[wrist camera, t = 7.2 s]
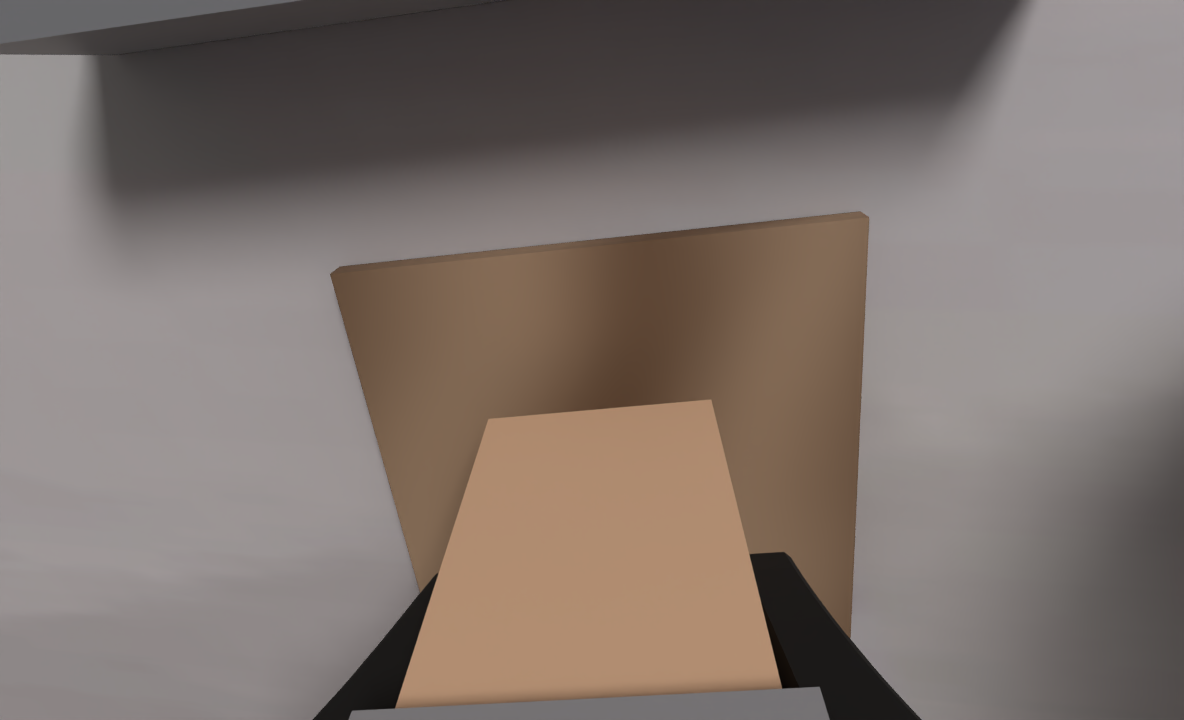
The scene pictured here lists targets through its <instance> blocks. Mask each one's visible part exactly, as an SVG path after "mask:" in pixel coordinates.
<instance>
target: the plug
mask: <svg viewBox="0 0 1184 720" xmlns="http://www.w3.org/2000/svg"><path fill="white" fill-rule="evenodd" d="M349 720H830V719H829V716H828V713H827V709H826V706H825V703H824V699H823V696H822V693H821V689H820V687H806V688H787V689H782V686H781V682H780V678H779V674H778V669H777V665H776V661H775V657H774V653H773V649H772V645H771V641H770V637H769V633H768V629H767V625H766V621H765V616H764V612H763V608H762V604H761V600H760V596H759V592H758V588H757V584H756V580H755V576H754V572H753V568H752V563H751V559H750V555H749V551H748V547H747V543H746V539H745V535H744V531H743V527H742V523H741V519H740V515H739V510H738V506H737V502H736V498H735V494H734V490H733V486H732V482H731V478H730V474H729V470H728V466H727V462H726V457H725V453H724V449H723V445H722V441H721V437H720V433H719V429H718V425H717V421H716V417H715V413H714V409H713V404H712V400H699V401H688V402H677V403H665V404H654V405H642V406H631V407H619V408H608V409H596V410H585V411H573V412H562V413H550V414H539V415H528V416H516V417H505V418H493V419H488V422H487V425H486V428H485V431H484V434H483V437H482V440H481V444H480V447H479V450H478V453H477V456H476V459H475V462H474V465H473V468H472V471H471V475H470V478H469V481H468V484H467V487H466V490H465V493H464V496H463V499H462V502H461V506H460V509H459V512H458V515H457V518H456V521H455V524H454V527H453V530H452V533H451V537H450V540H449V543H448V546H447V549H446V552H445V555H444V558H443V561H442V564H441V568H440V571H439V574H438V577H437V580H436V583H435V586H434V589H433V592H432V595H431V599H430V602H429V605H428V608H427V611H426V614H425V617H424V620H423V623H422V626H421V630H420V633H419V636H418V639H417V642H416V645H415V648H414V651H413V654H412V657H411V661H410V664H409V667H408V670H407V673H406V676H405V679H404V682H403V685H402V688H401V692H400V695H399V698H398V701H397V704H396V707H395V709H377V710H357V711H352V712H351V715H350V717H349Z"/></svg>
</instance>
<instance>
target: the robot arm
mask: <svg viewBox="0 0 1184 720" xmlns="http://www.w3.org/2000/svg"><path fill="white" fill-rule="evenodd" d="M749 555H750V559H751V563H752V568H753V572H754V576H755V580H756V584H757V588H758V592H759V596H760V600H761V604H762V608H763V612H764V616H765V621H766V625H767V629H768V633H769V637H770V641H771V645H772V649H773V653H774V657H775V661H776V665H777V669H778V674H779V678H780V682H781V686H782V689H787V688H806V687H820V689H821V693H822V696H823V699H824V703H825V706H826V709H827V713H828V716H829V719H830V720H921V719H920V718H919V717H918V716H917V715H916V713H915V712H914V711H913V710H912V709H911V708H910V707H909V706H908V705H907V704H906V703H905V702H904V700H903V699H902V698H901V697H900V696H899V695H898V694H897V693H896V692H895V691H894V690H893V689H892V687H891V686H890V685H889V684H888V683H887V682H886V681H885V680H884V678H883V677H882V676H881V675H880V674H879V673H878V672H877V670H876V669H875V668H874V667H873V666H872V665H871V663H870V662H869V661H868V660H867V659H866V657H865V656H864V655H863V654H862V653H861V651H860V650H859V649H858V648H857V647H856V645H855V644H854V643H853V642H852V641H851V639H850V638H849V637H848V636H847V634H846V633H845V632H844V631H843V630H842V628H841V627H840V626H839V624H838V623H837V622H836V621H835V619H834V618H833V617H832V615H831V614H830V613H829V611H828V610H827V609H826V607H825V606H824V605H823V603H822V602H821V601H820V599H819V598H818V597H817V595H816V594H815V592H814V591H813V590H812V588H811V587H810V585H809V584H808V583H807V581H806V580H805V578H804V577H803V575H802V574H801V572H800V571H799V569H798V568H797V566H796V564H795V563H794V561H793V560H792V558H791V557H790V556H789V555H787V554H786V553H785V552H772V553H756V554H749ZM438 574H439V573H437V574H436V575H435V576H434V577H433V578H432V579H431V580H430V582H429V583H428V584H427V585H426V586H425V588H424V589H423V590H422V591H421V593H420V594H419V595H418V596H417V598H416V599H415V600H414V601H413V603H412V604H411V605H410V606H409V608H408V609H407V610H406V611H405V613H404V614H403V615H402V616H401V618H400V619H399V620H398V621H397V622H396V624H395V625H394V626H393V627H392V629H391V630H390V631H389V632H388V634H387V635H386V636H385V637H384V639H383V640H382V641H381V642H380V643H379V645H378V646H377V647H376V648H375V649H374V651H373V652H372V653H371V654H370V655H369V656H368V658H367V659H366V660H365V661H364V662H363V664H362V665H361V666H360V667H359V668H358V669H357V671H356V672H355V673H354V674H353V675H352V677H351V678H350V679H349V680H348V681H347V682H346V684H345V685H344V686H343V687H342V688H341V689H340V690H339V691H338V693H337V694H336V695H335V696H334V697H333V698H332V699H331V700H330V701H329V702H328V703H327V705H326V706H325V707H324V708H323V709H322V710H321V711H320V712H319V713H318V714H317V715H316V717H315V718H314V719H313V720H349V717H350V715H351V712H352V711H357V710H377V709H395V707H396V704H397V701H398V698H399V695H400V692H401V688H402V685H403V682H404V679H405V676H406V673H407V670H408V667H409V664H410V661H411V657H412V654H413V651H414V648H415V645H416V642H417V639H418V636H419V633H420V630H421V626H422V623H423V620H424V617H425V614H426V611H427V608H428V605H429V602H430V599H431V595H432V592H433V589H434V586H435V583H436V580H437V577H438Z"/></svg>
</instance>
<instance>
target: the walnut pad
mask: <svg viewBox="0 0 1184 720" xmlns="http://www.w3.org/2000/svg"><path fill="white" fill-rule="evenodd" d="M868 232H869V217H868V216H866V215H865V214H863V213H862V212H851V213H842V214H832V215H823V216H813V217H804V218H795V219H785V220H776V221H766V222H757V223H747V224H738V225H728V226H719V227H710V228H700V229H691V230H681V231H672V232H662V233H653V234H643V235H634V236H625V237H615V238H606V239H596V240H587V241H577V242H568V243H559V244H549V245H540V246H530V247H521V248H511V249H502V250H492V251H483V252H474V253H464V254H455V255H445V256H436V257H426V258H417V259H407V260H398V261H389V262H379V263H370V264H360V265H351V266H341V267H339V268H338V269H336V270H335V271H333V272H332V273H331V274H330V276H331V279H332V283H333V286H334V290H335V293H336V297H337V300H338V304H339V307H340V311H341V314H342V318H343V321H344V325H345V329H346V332H347V336H348V339H349V343H350V346H351V350H352V353H353V357H354V360H355V364H356V367H357V371H358V375H359V378H360V382H361V385H362V389H363V392H364V396H365V399H366V403H367V406H368V410H369V413H370V417H371V420H372V424H373V428H374V431H375V435H376V438H377V442H378V445H379V449H380V452H381V456H382V459H383V463H384V466H385V470H386V473H387V477H388V481H389V484H390V488H391V491H392V495H393V498H394V502H395V505H396V509H397V512H398V516H399V519H400V523H401V527H402V530H403V534H404V537H405V541H406V544H407V548H408V551H409V555H410V558H411V562H412V565H413V569H414V572H415V576H416V580H417V583H418V587H419V590H420V593H421V591H422V590H423V589H424V588H425V586H426V585H427V584H428V583H429V582H430V580H431V579H432V578H433V577H434V576H435V575H436V574H437V573H439V571H440V568H441V564H442V561H443V558H444V555H445V552H446V549H447V546H448V543H449V540H450V537H451V533H452V530H453V527H454V524H455V521H456V518H457V515H458V512H459V509H460V506H461V502H462V499H463V496H464V493H465V490H466V487H467V484H468V481H469V478H470V475H471V471H472V468H473V465H474V462H475V459H476V456H477V453H478V450H479V447H480V444H481V440H482V437H483V434H484V431H485V428H486V425H487V422H488V419H493V418H505V417H516V416H528V415H539V414H550V413H562V412H573V411H585V410H596V409H608V408H619V407H631V406H642V405H654V404H665V403H677V402H688V401H699V400H712V404H713V409H714V413H715V417H716V421H717V425H718V429H719V433H720V437H721V441H722V445H723V449H724V453H725V457H726V462H727V466H728V470H729V474H730V478H731V482H732V486H733V490H734V494H735V498H736V502H737V506H738V510H739V515H740V519H741V523H742V527H743V531H744V535H745V539H746V543H747V547H748V551H749V554H756V553H772V552H785V553H786V554H787V555H789V556H790V557H791V558H792V560H793V561H794V563H795V564H796V566H797V568H798V569H799V571H800V572H801V574H802V575H803V577H804V578H805V580H806V581H807V583H808V584H809V585H810V587H811V588H812V590H813V591H814V592H815V594H816V595H817V597H818V598H819V599H820V601H821V602H822V603H823V605H824V606H825V607H826V609H827V610H828V611H829V613H830V614H831V615H832V617H833V618H834V619H835V621H836V622H837V623H838V624H839V626H840V627H841V628H842V630H843V631H844V632H845V633H846V634H847V636H848V637H849V638H850V637H851V614H852V592H853V569H854V547H855V524H856V502H857V479H858V457H859V434H860V412H861V389H862V367H863V345H864V322H865V300H866V277H867V255H868Z"/></svg>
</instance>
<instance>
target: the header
mask: <svg viewBox="0 0 1184 720" xmlns="http://www.w3.org/2000/svg"><path fill="white" fill-rule="evenodd" d="M497 1H504V0H0V54H29V55H118V54H125V53H133V52H140V51H147V50H154V49H161V48H168V47H175V46H183V45H190V44H197V43H204V42H211V41H218V40H225V39H233V38H240V37H247V36H254V35H261V34H268V33H275V32H283V31H290V30H297V29H304V28H311V27H318V26H326V25H333V24H340V23H347V22H354V21H361V20H368V19H376V18H383V17H390V16H397V15H404V14H411V13H418V12H426V11H433V10H440V9H447V8H454V7H461V6H468V5H476V4H483V3H490V2H497Z"/></svg>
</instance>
